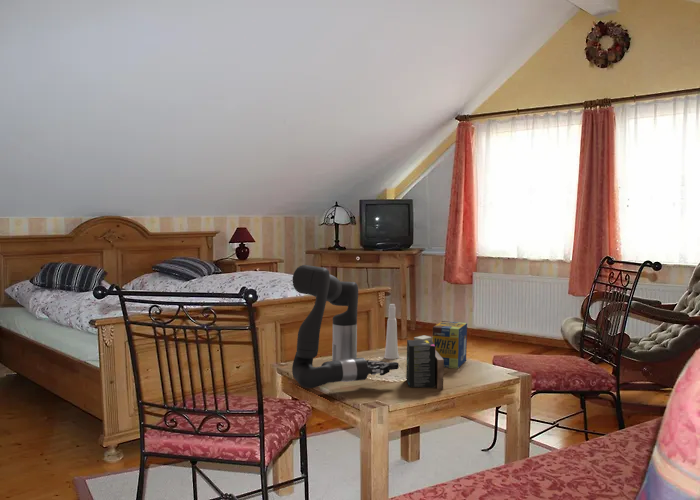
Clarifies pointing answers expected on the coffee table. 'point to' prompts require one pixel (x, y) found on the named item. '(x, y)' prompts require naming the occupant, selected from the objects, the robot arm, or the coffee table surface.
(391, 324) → the cosmetic bottle
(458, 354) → the protein box
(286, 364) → the coffee table surface
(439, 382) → the walnut board
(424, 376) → the tampon box
